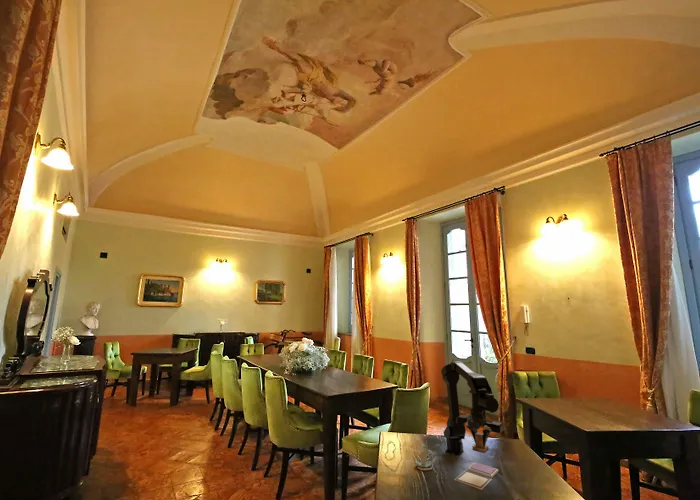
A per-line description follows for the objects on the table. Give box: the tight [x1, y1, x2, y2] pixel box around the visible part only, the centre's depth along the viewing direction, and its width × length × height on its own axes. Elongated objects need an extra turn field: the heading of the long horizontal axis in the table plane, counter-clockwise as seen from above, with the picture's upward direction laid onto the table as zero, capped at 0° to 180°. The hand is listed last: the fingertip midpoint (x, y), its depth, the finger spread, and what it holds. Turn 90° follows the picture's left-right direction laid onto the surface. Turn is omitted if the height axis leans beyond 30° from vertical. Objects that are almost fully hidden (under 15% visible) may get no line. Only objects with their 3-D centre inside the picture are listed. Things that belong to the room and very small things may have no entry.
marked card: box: [454, 469, 492, 491], centre depth 143 cm, size 11×11×1 cm
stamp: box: [471, 431, 489, 454], centre depth 151 cm, size 5×5×6 cm
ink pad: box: [467, 461, 499, 479], centre depth 151 cm, size 10×8×1 cm
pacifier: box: [414, 451, 433, 471], centre depth 153 cm, size 7×6×6 cm
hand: (480, 444), depth 151 cm, fingers closed on stamp, 3 cm apart
